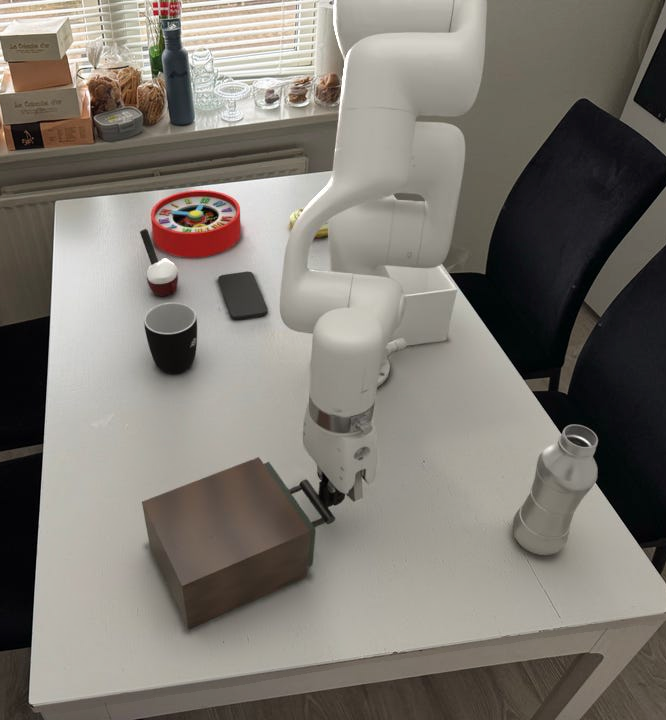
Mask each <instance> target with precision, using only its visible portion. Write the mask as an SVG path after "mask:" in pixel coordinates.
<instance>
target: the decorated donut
mask: <svg viewBox="0 0 666 720" xmlns="http://www.w3.org/2000/svg"><path fill="white" fill-rule="evenodd" d="M305 208H306V206H304V207H301V208H299V209H296V210H295V211H294V212H292V214H290V216H289V227H290V231H291V230H292V228H293V226H294V224H295V222H296V220H297V219H298V217H299V216H300V214H301V213H302V211H303V210H304V209H305ZM328 222H329V220H328V221H327V222H326V223H325V224H324V225H323V226H322V227H321V228H320V229H319V231H318V232H317V234H316V235H315V237H314V238H322V237H326V236H328Z"/></svg>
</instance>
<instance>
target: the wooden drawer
mask: <svg viewBox="0 0 666 720" xmlns="http://www.w3.org/2000/svg"><path fill="white" fill-rule="evenodd" d="M263 464H264V465H265V467H266V468H267V469H268V471H269V472H270V474H271V475H272V477H273V478H274V480H275V481H276V482H277V484H278V485H279V487H280V488H281V490H282V491H283V493H284V494H285V495H286V497H287V498H288V500H289V501H290V503H291V504H292V506H293V507H294V509H295V510H296V511H297V513H298V514H299V516H300V517H301V519H302V520H303V522H304V523H305V524H306V526H307V527H308V529H309V530H310V541H309V555H308V568H310V567H312V566H313V565H314V555H315V545H316V544H315V543H316V532H317V531H316V530H317V527H319V526H321V525H324V524H326V525H331V524H333V523H334V522H335V521H336V516H335V515H334V514H333V512H332V511H331V510H330V507H327V506H326V504H325V503H324V502H323V500H322V499H321V498H320V496H319V493H318V492H317V491H316V489H315V488H314V486H313V485H312V484H311V483H310V481H309V479H302V480H301V481H300V482H299V483H298V485H295V486H293V487H291V488H288V486H287V485H286V484H285V482H284V481H283V479H281V477H280V475H279V474H278V473H277V471H276V470H275V469H274V467H273V465H272V464H271V463H270V461H266V462H263ZM300 491H302V492H303V493H304V495H305V497H306V498H307V499H308V500H309V502H310V503H311V504H312V506H313V507H314V508H315V510H316V511H317V513H318V515H320V518H317V519H315V520H313V521H311V519H310V518H309V517H308V515H307V514H306V512H305V511H304V509H303V508H302V507H301V505H300V504H299V503H298V501H297V500H296V498H295V497H294V496H293V494H296V493H298V492H300Z"/></svg>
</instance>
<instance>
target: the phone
mask: <svg viewBox="0 0 666 720" xmlns="http://www.w3.org/2000/svg"><path fill="white" fill-rule="evenodd" d="M217 278H218V279H217V280H218V285H219V287H220V290H221V293H222V296H223V299H224V302H225V305H226V307H227V310H228V314H229V317H230V318H231V319H232V320H243V319H249V318H256V317H263V316H266V315H267V314H269V308H268V305H267V303H266V300H265V299H264V296H263V294H262V291H261V288H260V286H259V284H258V282H257V280H256V278H255V275H254V273H253V272H252V271H247V270H246V271H239V272H233V273H226V274H221V275H219V276H218V277H217Z"/></svg>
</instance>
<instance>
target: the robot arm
mask: <svg viewBox="0 0 666 720" xmlns="http://www.w3.org/2000/svg"><path fill="white" fill-rule="evenodd" d="M487 13H488V1H487V0H334V3H333V14H332V15H333V27H334V32H335V36H336V40H337V44H338V47H339V50H340V52H341V56H342V58H343V61H344V67H343V75H342V83H341V92H340V101H339V109H338V119H337V128H336V137H335V147H334V153H333V164H332V171H331V176H330V178H329V180H328V183H327V184H326V186H324V188H322V190H321V191H320V192H319V193H317V195H316V196H315V197H314V198H312V199H311V201H309V203H308V204H307V205H306V206H305V207H306V208H305V209H304V210H303V211H302V213H301V214H300V216H299V217H298V219H297V220H296V222H295V224H294V226H293V228H292V230H291V229H290V233H289V236H288V239H287V242H286V246H285V250H284V257H283V265H282V266H283V267H282V274H281V275H282V276H281V283H280V291H279V295H280V296H279V314H280V319H281V320H282V323H283V324H284V325H285V327H287V328H288V329H290V330H292V331H294V332H298V333H305V334H310V335H311V334H312V340H311V341H312V343H311V357H310V358H311V359H310V374H309V375H310V377H309V392H308V402H307V404H306V409H305V412H304V419H303V425H302V426H303V427H302V445H303V447H304V449H305V452H307V454H308V455H309V457H310V458H311V459H312V461H314V463H315V464H316V473H317V474H316V475H317V478H318V479H319V483H318V485H319V486H318V495H319V496H320V498H321V499H322V500H323V502H324V503H325V504H326V506H327V507H328V508H330V507H332V506H334V507H335V506H338V505H340V504H342V502H343V501H344V500H345V498H346V496H347V498H349V499H350V500H351V501H352V502H354V503H355V502H357V501H359V500H362V499H363V498H364V493H363V481H364V482H365V483H366V484H367V485H368V486H369V485H371V484H373V483H374V482H375V479H376V472H377V464H378V463H377V462H378V440H377V439H378V438H377V430H376V426H375V424H374V422H373V417H374V410H375V404H376V397H377V390H378V387H380V386H381V385H383V384H384V383H385V381H386V380H387V379H388V377H389V374H390V369H391V364H390V360H389V358H388V357H390V356H391V355H392V353H395V352H398V351H402V350H404V349H406V348H407V346H406V342H405V340H404V339H403V338H399V339H397V340H394V341H392V342H390V343H388V342H389V341H390V338H391V336H392V334H393V333H394V331H395V329H397V328H398V327H399V326H400V324H401V321H402V318H403V315H404V311H405V303H406V299H405V298H406V297H405V294H404V292H403V289H402V287H401V285H400V284H399V283H398V282H397V281H396V280H393V279H391V278H390V276H389V274H388V272H387V270H386V268H385V267H384V266H386V265H387V266H399V267H410V268H435V267H438V266H441V265H442V264H443V263H444V262H445V260H446V259H447V257H448V255H449V253H450V248H451V244H452V240H453V234H454V228H455V222H456V217H457V210H458V206H459V205H458V204H459V200H460V199H459V198H460V193H461V187H462V182H463V176H464V169H465V163H466V162H465V161H466V141H465V136H464V134H463V132H462V130H461V129H460V128H459V127H457V126H456V125H454V124H451V123H447V122H438V121H435V122H434V121H418V120H417V118H418V117H422V116H424V117H425V116H426V117H461V116H464V115H465V114H467V113H468V112H469V111H470V110H471V108H472V107H473V105H475V102H476V99H477V96H478V94H479V92H480V91H479V90H480V88H481V83H482V78H483V73H484V65H485V57H486V55H485V53H486V39H487V38H486V37H487V36H486V34H487ZM416 120H417V121H416ZM396 194H411V195H420V196H421V197H422V199H424V201H422V200H407V199H395V198H388V197H391V196H393V195H396ZM328 220H329V222H328V235H327V239H328V247H329V258H330V261H329V262H330V265H329V266H330V269H329V270H330V271H328V270H320V269H319V270H318V269H309V268H308V263H309V262H308V261H309V254H310V250H311V247H312V244H313V241H314V239H315V238H316V237H315V235H316V234H317V232H318V231H319V229H320V228H321V227H322V226H323V225H324V224H325V223H326V222H327V221H328Z"/></svg>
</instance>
